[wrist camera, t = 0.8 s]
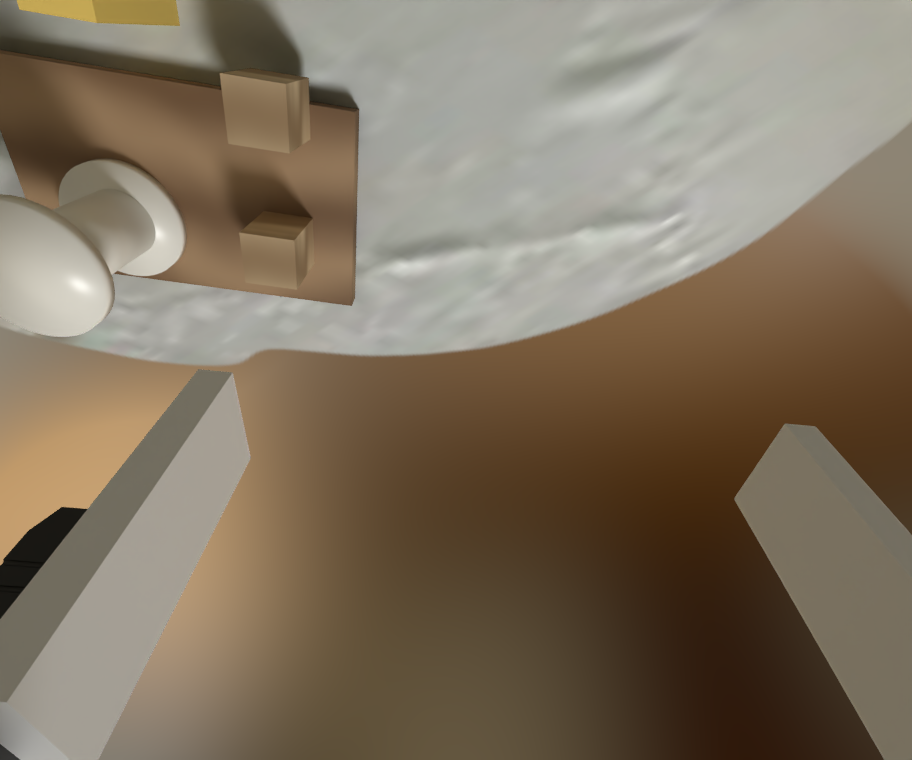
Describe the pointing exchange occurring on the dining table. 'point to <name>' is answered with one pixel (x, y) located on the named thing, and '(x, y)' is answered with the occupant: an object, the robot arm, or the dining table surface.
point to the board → (204, 165)
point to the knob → (84, 246)
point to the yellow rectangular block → (108, 10)
